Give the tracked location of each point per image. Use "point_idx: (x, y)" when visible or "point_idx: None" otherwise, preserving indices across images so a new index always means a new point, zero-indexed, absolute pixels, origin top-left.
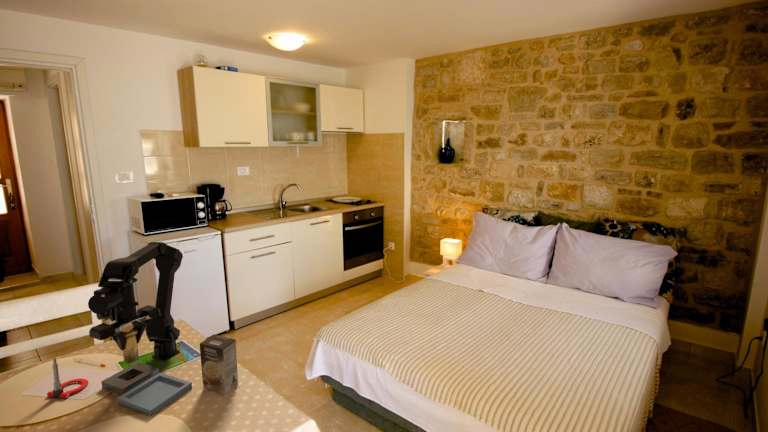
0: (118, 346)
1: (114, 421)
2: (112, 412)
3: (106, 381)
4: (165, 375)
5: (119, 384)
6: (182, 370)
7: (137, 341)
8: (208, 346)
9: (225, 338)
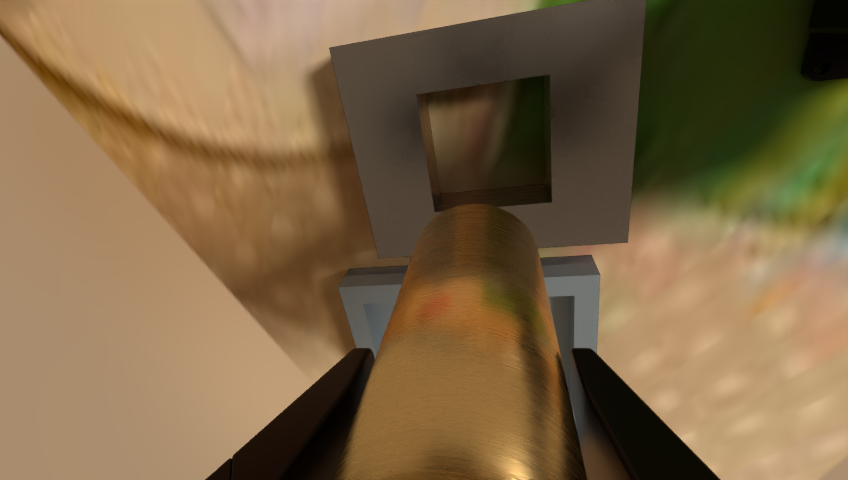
0: (315, 387)
1: (301, 347)
2: (313, 297)
3: (352, 83)
4: (588, 323)
5: (388, 199)
6: (706, 294)
7: (576, 410)
8: None
9: None
